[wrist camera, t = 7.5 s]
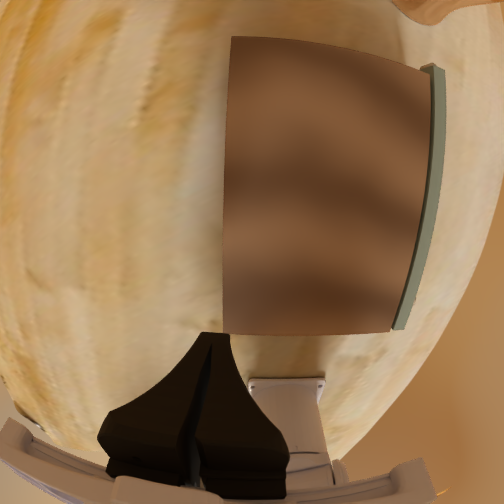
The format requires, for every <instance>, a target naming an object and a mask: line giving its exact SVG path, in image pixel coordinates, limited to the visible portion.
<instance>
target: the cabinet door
mask: <svg viewBox="0 0 504 504" xmlns="http://www.w3.org/2000/svg"><path fill="white" fill-rule="evenodd" d="M420 71H422V72H425V73H427V74H430V94H431V118H430V142H429V156H428V167H427V176H426V184H425V192H424V199H423V205H422V211H421V217H420V222H419V227H418V232H417V237H416V242H415V246H414V251H413V255H412V259H411V263H410V267H409V271H408V275H407V278H406V282H405V286H404V289H403V292H402V296H401V299H400V302H399V305H398V308H397V312H396V315H395V317H394V320H393V323H392V326H391V328H392V329H393V330H404V328H405V325H406V323H407V320H408V317H409V315H410V312H411V309H412V306H413V305H414V303H415V300H416V294H417V291H418V287H419V284H420V281H421V277H422V274H423V270H424V267H425V263H426V259H427V255H428V251H429V247H430V243H431V239H432V234H433V230H434V225H435V220H436V214H437V209H438V203H439V196H440V190H441V182H442V174H443V165H444V154H445V139H446V80H445V70H443V69H441V68H439V67H437V66H436V65H435V64H434V63H430V64H427V65H424V66H421V67H420Z"/></svg>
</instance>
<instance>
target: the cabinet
mask: <svg viewBox="0 0 504 504" xmlns="http://www.w3.org/2000/svg"><path fill="white" fill-rule="evenodd" d="M430 118H431V94H430V74H427V73H425V72H422V71H420V70H417V69H414V68H412V67H409V66H406V65H403V64H400V63H397V62H394V61H391V60H388V59H385V58H381V57H378V56H374V55H370V54H367V53H363V52H359V51H355V50H350V49H346V48H341V47H336V46H331V45H325V44H320V43H313V42H306V41H299V40H290V39H280V38H267V37H244V36H232V38H231V51H230V66H229V81H228V99H227V119H226V141H225V169H224V206H223V333H228V334H240V335H273V336H317V335H349V334H368V333H383V332H390V329H391V326H392V323H393V320H394V317H395V315H396V312H397V308H398V305H399V302H400V299H401V296H402V292H403V289H404V286H405V282H406V278H407V275H408V271H409V267H410V263H411V259H412V255H413V251H414V246H415V242H416V237H417V232H418V227H419V222H420V217H421V211H422V205H423V199H424V192H425V184H426V176H427V167H428V156H429V142H430Z"/></svg>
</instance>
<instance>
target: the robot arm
mask: <svg viewBox="0 0 504 504" xmlns="http://www.w3.org/2000/svg"><path fill="white" fill-rule="evenodd" d="M325 383H326V380H325V378H302V379H250V380H249V381H248V390H247V388H246V386H245V384H244V382H243V380H242V378H241V376H240V374H239V371H238V369H237V366H236V363H235V360H234V357H233V354H232V350H231V345H230V335H229V334H228V333H212V332H201V333H200V335H199V336H198V338H197V339H196V341H195V342H194V344H193V345H192V347H191V348H190V349H189V351H188V352H187V353H186V355H185V356H184V357H183V358H182V360H181V361H180V362H179V363H178V364H177V365H176V366H175V367H174V368H173V370H172V371H171V372H170V373H169V374H168V375H166V376H165V377H164V378H163V379H162V380H161V381H160V382H159V383H157V384H156V385H155V386H154V387H152V388H151V389H150V390H148V391H147V392H146V393H144V394H142V395H141V396H139V397H138V398H136V399H134V400H133V401H131V402H129V403H127V404H125V405H123V406H121V407H119V408H117V409H115V410H112V411H110V412H109V413H108V415H107V417H106V418H105V420H104V422H103V424H102V426H101V428H100V431H99V433H98V436H97V440H98V442H99V444H100V445H101V447H102V448H103V449H104V451H105V452H106V453H107V454H108V456H109V457H110V459H109V461H108V464H107V467H104V466H101V465H98V464H95V463H93V462H90V461H87V460H84V459H82V458H79V457H77V456H74V455H72V454H70V453H67V452H65V451H63V450H61V449H58V448H56V447H54V446H52V445H50V444H48V443H45V442H44V441H42V440H40V439H38V438H36V437H34V436H33V434H32V433H31V432H30V431H29V430H28V429H27V428H26V427H25V426H24V425H22V424H20V423H19V422H17V421H15V420H13V419H11V418H8V420H7V421H6V423H5V425H4V426H3V428H2V430H1V431H0V460H1V461H2V462H3V463H5V464H6V465H7V466H8V467H9V468H10V469H11V470H12V471H14V472H15V473H16V474H17V475H19V476H20V477H22V478H23V479H25V480H26V481H28V482H30V483H31V484H33V485H35V486H36V487H38V488H39V489H41V490H43V491H44V492H46V493H48V494H50V495H51V496H53V497H55V498H57V499H59V500H60V501H62V502H64V503H66V504H430V503H432V502H433V501H435V500H436V499H437V495H436V493H435V490H434V487H433V484H432V482H431V479H430V476H429V474H428V471H427V469H426V466H425V463H424V461H423V458H417V459H414V460H411V461H408V462H405V463H402V464H399V465H397V466H396V467H394V468H393V469H392V470H391V471H390V473H387V474H383V475H380V476H376V477H372V478H367V479H363V480H359V481H354V482H349V479H348V474H347V470H346V466H345V463H343V462H339V460H338V459H336V460H333V461H332V465H333V469H332V465H331V461H330V458H329V454H328V452H327V447H326V442H325V437H324V432H323V427H322V423H321V418H320V413H319V409H318V404H319V401H320V398H321V395H322V392H323V389H324V386H325ZM200 480H202V483H203V486H204V488H200Z"/></svg>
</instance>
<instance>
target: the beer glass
mask: <svg viewBox="0 0 504 504" xmlns="http://www.w3.org/2000/svg"><path fill="white" fill-rule="evenodd" d="M503 1H504V0H392V2H393V3H394V4H395V5H396V6H397V7H398V9H399V10H401V11H402V12H403V13H404V14H405V15H406V16H408V17H409V18H411V19H412V20H414V21H416V22H418V23H420V24H423V25H428V26H433V25H437V24H438V23H440V22H441V21H442V20H443V19H444V18H445V17H446V16H447V15H448V14H450V13H451V12H454V10H457V9H460V8H464V7H469V6H476V5H483V4H492V3H498V2H503Z"/></svg>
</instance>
